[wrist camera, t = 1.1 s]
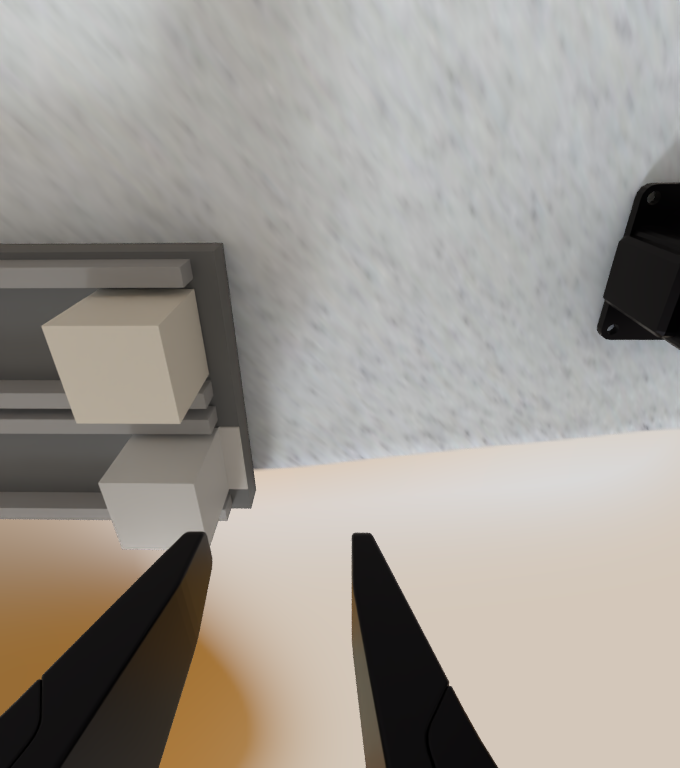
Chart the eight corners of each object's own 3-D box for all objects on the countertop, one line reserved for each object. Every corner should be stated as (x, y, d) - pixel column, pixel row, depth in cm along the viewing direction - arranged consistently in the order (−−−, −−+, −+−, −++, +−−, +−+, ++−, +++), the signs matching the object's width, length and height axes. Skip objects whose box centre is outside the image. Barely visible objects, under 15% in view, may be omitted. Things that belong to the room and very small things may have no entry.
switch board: (222, 242, 19) (204, 258, 17) (255, 489, 26) (246, 525, 24) (-143, 244, 20) (-210, 261, 17) (-15, 487, 26) (-50, 522, 24)
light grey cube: (218, 427, 22) (193, 483, 19) (229, 489, 24) (208, 550, 21) (137, 427, 22) (98, 483, 19) (155, 488, 24) (122, 549, 21)
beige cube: (194, 288, 19) (158, 325, 15) (208, 373, 21) (180, 423, 17) (98, 289, 19) (41, 326, 15) (122, 373, 21) (76, 423, 17)
